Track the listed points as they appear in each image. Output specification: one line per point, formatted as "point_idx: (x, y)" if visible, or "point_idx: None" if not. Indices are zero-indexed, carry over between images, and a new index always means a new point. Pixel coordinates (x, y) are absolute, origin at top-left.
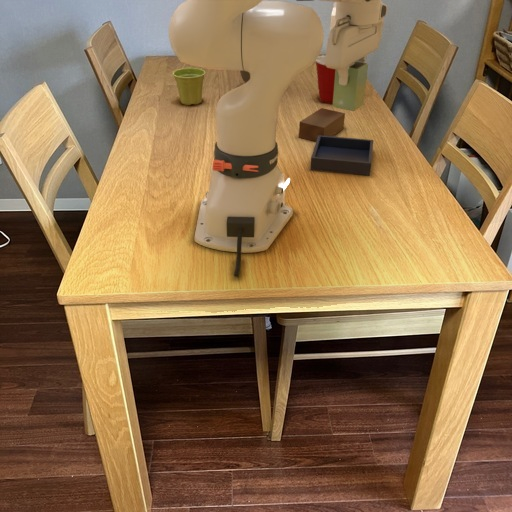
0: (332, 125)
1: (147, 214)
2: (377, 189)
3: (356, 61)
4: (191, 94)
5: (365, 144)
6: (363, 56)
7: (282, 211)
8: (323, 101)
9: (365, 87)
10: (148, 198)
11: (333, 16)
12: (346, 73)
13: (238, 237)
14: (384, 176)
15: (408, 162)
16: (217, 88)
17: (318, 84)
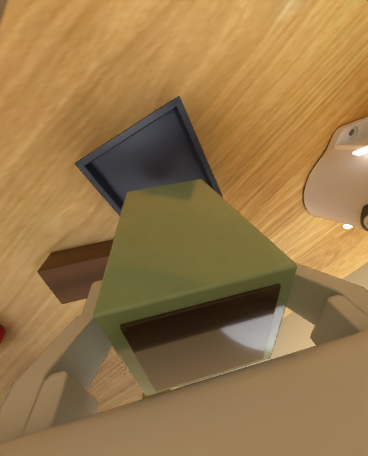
0: (94, 255)
1: (363, 237)
2: (212, 50)
3: (90, 376)
4: None
5: (93, 172)
6: (145, 412)
7: (348, 137)
8: (3, 329)
9: (121, 216)
10: (338, 255)
11: None
12: (328, 275)
13: None
14: (154, 69)
15: (49, 54)
16: (106, 385)
17: None
